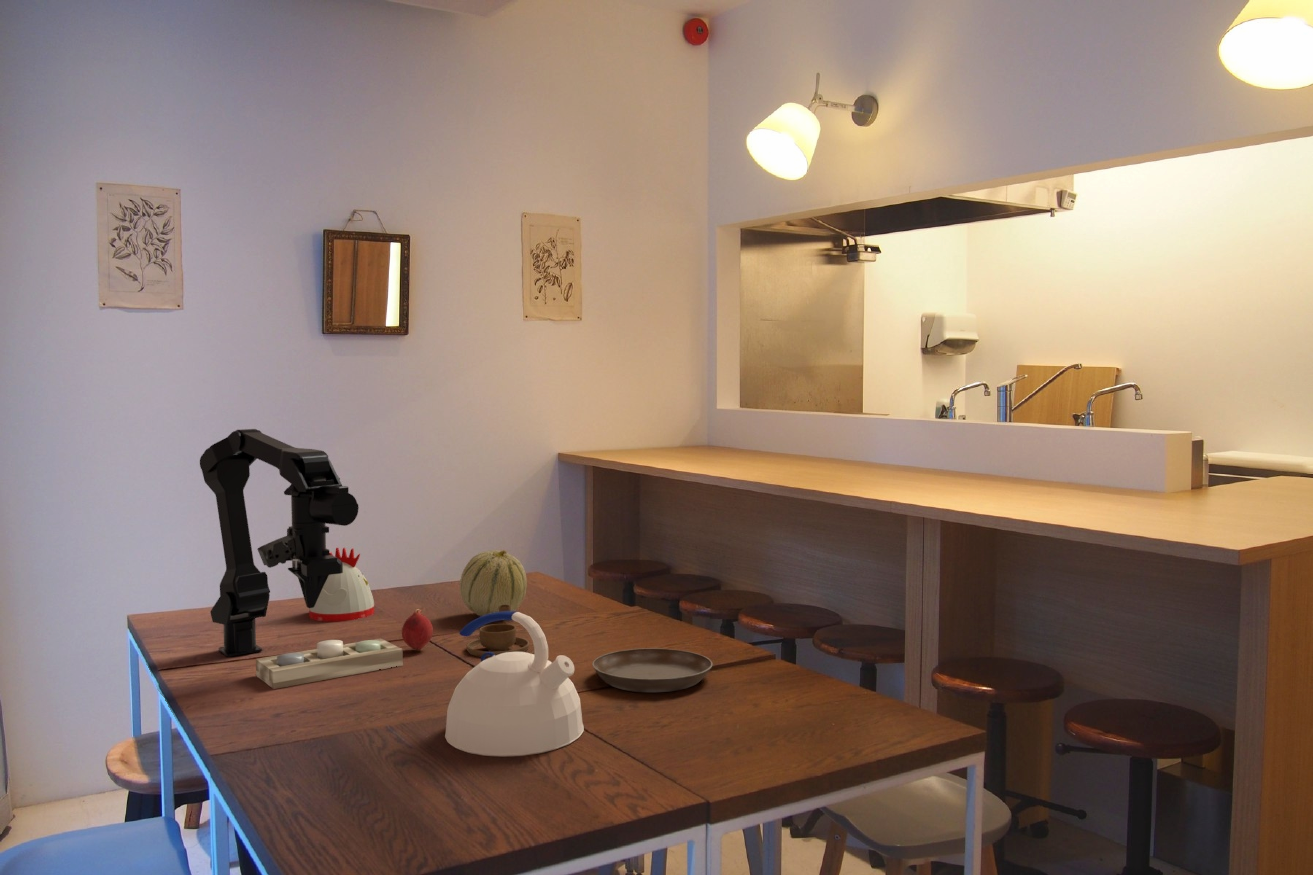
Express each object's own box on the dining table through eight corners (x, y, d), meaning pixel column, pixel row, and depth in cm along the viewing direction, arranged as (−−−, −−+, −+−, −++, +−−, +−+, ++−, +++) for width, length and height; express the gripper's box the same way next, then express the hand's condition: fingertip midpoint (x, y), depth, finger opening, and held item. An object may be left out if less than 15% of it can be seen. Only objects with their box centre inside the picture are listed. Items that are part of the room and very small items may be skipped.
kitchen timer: (363, 621, 222) (362, 552, 221) (300, 621, 222) (298, 552, 221) (381, 607, 236) (380, 542, 235) (322, 607, 236) (320, 542, 235)
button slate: (274, 668, 180) (273, 655, 180) (299, 664, 183) (299, 651, 183) (282, 674, 177) (281, 660, 176) (307, 669, 179) (307, 656, 179)
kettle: (526, 768, 137) (525, 634, 136) (414, 740, 148) (411, 616, 147) (612, 725, 154) (611, 606, 153) (506, 703, 165) (504, 591, 164)
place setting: (441, 655, 196) (440, 624, 196) (501, 631, 214) (500, 603, 214) (518, 665, 189) (517, 633, 188) (573, 640, 206) (573, 611, 206)
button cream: (313, 655, 184) (313, 642, 184) (337, 651, 187) (337, 638, 187) (322, 660, 181) (321, 647, 181) (346, 656, 183) (346, 643, 183)
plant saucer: (639, 658, 192) (639, 640, 192) (734, 675, 180) (734, 657, 180) (568, 685, 175) (567, 665, 175) (667, 706, 163) (667, 685, 163)
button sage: (352, 655, 188) (351, 642, 188) (375, 651, 191) (374, 638, 191) (361, 660, 185) (360, 647, 185) (384, 656, 188) (384, 643, 188)
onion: (425, 655, 194) (424, 613, 193) (397, 653, 195) (396, 612, 194) (437, 647, 199) (437, 606, 199) (410, 646, 201) (409, 605, 200)
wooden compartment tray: (256, 675, 181) (255, 658, 181) (381, 653, 195) (380, 638, 195) (273, 688, 173) (273, 671, 173) (402, 665, 187) (402, 649, 187)
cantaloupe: (472, 608, 233) (471, 543, 233) (535, 610, 231) (534, 544, 230) (450, 624, 219) (449, 554, 218) (517, 625, 217) (516, 555, 216)
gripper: (248, 518, 187) (250, 603, 187) (276, 531, 171) (278, 623, 172) (310, 514, 193) (311, 596, 194) (342, 525, 178) (344, 615, 179)
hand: (310, 607), depth 184 cm, fingers closed
